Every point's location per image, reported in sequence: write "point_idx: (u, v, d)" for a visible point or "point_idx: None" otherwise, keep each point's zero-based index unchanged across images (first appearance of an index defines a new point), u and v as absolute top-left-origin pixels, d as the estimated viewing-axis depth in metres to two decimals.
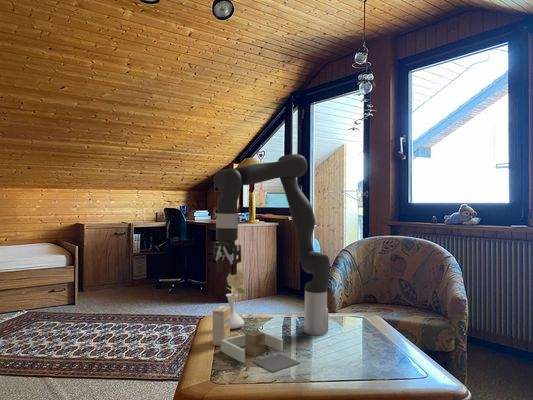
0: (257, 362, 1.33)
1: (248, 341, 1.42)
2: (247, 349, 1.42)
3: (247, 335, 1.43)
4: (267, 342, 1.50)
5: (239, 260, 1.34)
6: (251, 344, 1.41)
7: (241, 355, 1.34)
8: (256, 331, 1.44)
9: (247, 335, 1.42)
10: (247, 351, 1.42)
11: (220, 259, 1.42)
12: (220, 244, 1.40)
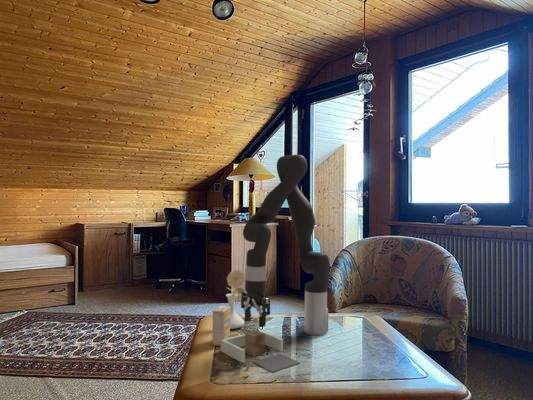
0: (257, 362, 1.33)
1: (248, 341, 1.42)
2: (247, 349, 1.42)
3: (247, 335, 1.43)
4: (267, 342, 1.50)
5: (268, 313, 1.38)
6: (251, 344, 1.41)
7: (241, 355, 1.34)
8: (256, 331, 1.44)
9: (247, 335, 1.42)
10: (247, 351, 1.42)
11: (248, 309, 1.46)
12: (248, 295, 1.44)
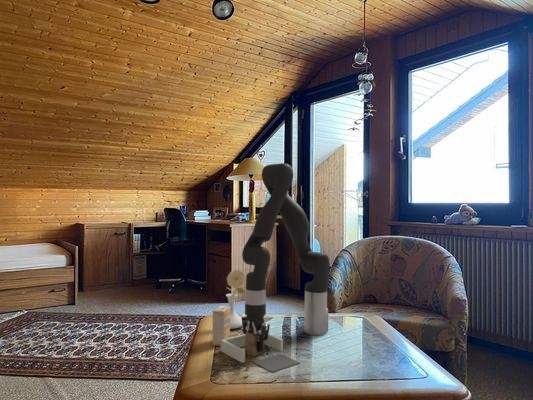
0: (257, 362, 1.33)
1: (248, 341, 1.42)
2: (247, 349, 1.42)
3: (247, 335, 1.43)
4: (267, 342, 1.50)
5: (265, 338, 1.39)
6: (251, 344, 1.41)
7: (241, 355, 1.34)
8: None
9: (247, 335, 1.42)
10: (247, 351, 1.42)
11: None
12: (248, 317, 1.44)
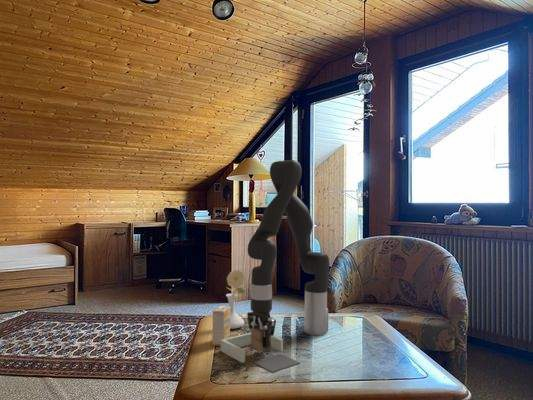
0: (257, 362, 1.33)
1: (254, 337, 1.39)
2: (253, 345, 1.40)
3: (253, 330, 1.40)
4: None
5: (272, 334, 1.36)
6: (257, 339, 1.38)
7: (241, 355, 1.34)
8: None
9: (253, 331, 1.40)
10: (253, 347, 1.40)
11: None
12: (254, 313, 1.42)
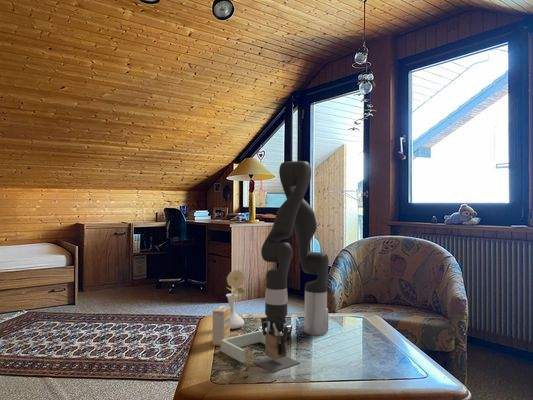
0: (257, 362, 1.33)
1: (269, 343, 1.33)
2: (267, 352, 1.33)
3: (267, 336, 1.34)
4: None
5: (288, 340, 1.30)
6: (272, 346, 1.32)
7: (241, 355, 1.34)
8: None
9: (268, 337, 1.33)
10: (267, 354, 1.33)
11: None
12: (268, 318, 1.35)
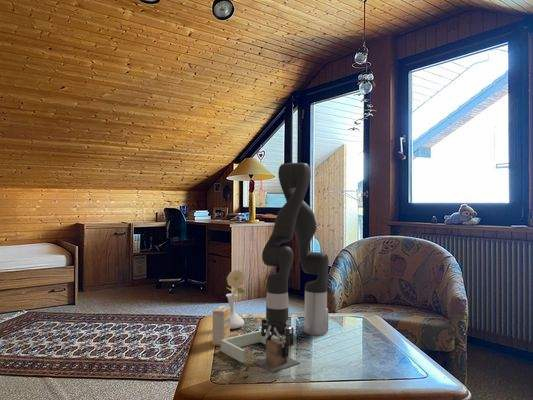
0: (257, 362, 1.33)
1: (270, 350, 1.33)
2: (268, 358, 1.33)
3: (268, 343, 1.33)
4: None
5: (291, 344, 1.29)
6: (273, 353, 1.31)
7: (241, 355, 1.34)
8: None
9: (269, 343, 1.33)
10: (268, 361, 1.33)
11: (269, 338, 1.37)
12: (269, 323, 1.35)
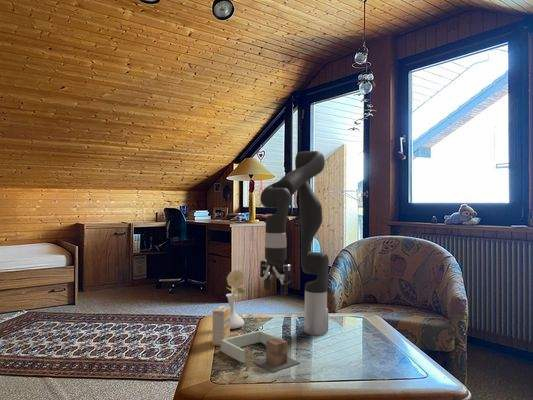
0: (257, 362, 1.33)
1: (270, 350, 1.33)
2: (268, 358, 1.33)
3: (268, 343, 1.33)
4: None
5: (290, 280, 1.33)
6: (273, 353, 1.31)
7: (241, 355, 1.34)
8: (278, 339, 1.35)
9: (269, 343, 1.33)
10: (268, 361, 1.33)
11: (268, 278, 1.41)
12: (268, 263, 1.39)
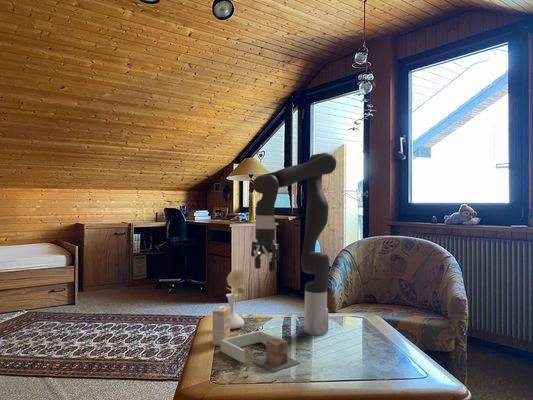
0: (257, 362, 1.33)
1: (270, 350, 1.33)
2: (268, 358, 1.33)
3: (268, 343, 1.33)
4: None
5: (277, 258, 1.47)
6: (273, 353, 1.31)
7: (241, 355, 1.34)
8: (278, 339, 1.35)
9: (269, 343, 1.33)
10: (268, 361, 1.33)
11: (258, 257, 1.55)
12: (258, 243, 1.53)
